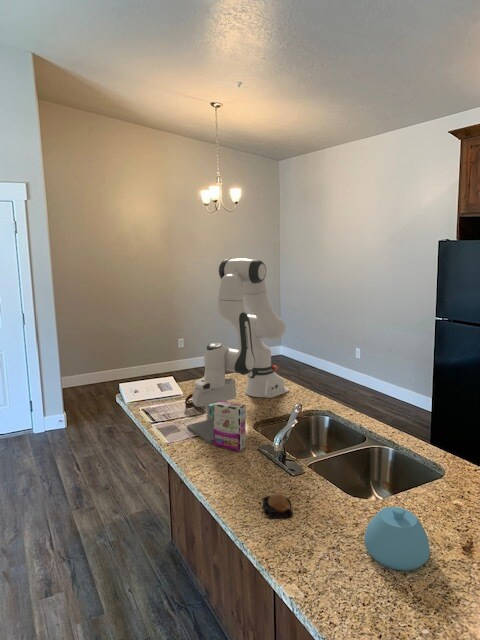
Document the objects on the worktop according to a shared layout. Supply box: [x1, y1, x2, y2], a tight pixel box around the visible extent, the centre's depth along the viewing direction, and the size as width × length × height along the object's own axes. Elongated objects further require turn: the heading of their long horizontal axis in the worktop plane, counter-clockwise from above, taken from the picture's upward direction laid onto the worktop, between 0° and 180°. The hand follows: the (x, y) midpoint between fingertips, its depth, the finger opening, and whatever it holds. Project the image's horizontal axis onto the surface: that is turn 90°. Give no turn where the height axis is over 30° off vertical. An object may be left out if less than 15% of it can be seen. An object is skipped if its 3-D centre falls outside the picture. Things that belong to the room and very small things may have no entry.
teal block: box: [206, 403, 215, 419], centre depth 200 cm, size 5×5×5 cm
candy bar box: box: [213, 400, 247, 453], centre depth 169 cm, size 11×5×16 cm, turn 62°
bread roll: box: [261, 494, 294, 520], centre depth 131 cm, size 11×8×4 cm
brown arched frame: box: [184, 392, 198, 410], centre depth 209 cm, size 12×10×8 cm
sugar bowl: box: [363, 506, 431, 572], centre depth 112 cm, size 15×15×12 cm
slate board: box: [187, 418, 214, 445], centre depth 184 cm, size 14×18×1 cm
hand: (215, 412), depth 200 cm, fingers closed on teal block, 5 cm apart
